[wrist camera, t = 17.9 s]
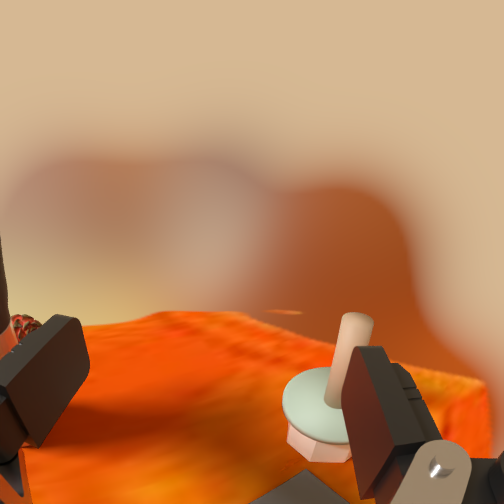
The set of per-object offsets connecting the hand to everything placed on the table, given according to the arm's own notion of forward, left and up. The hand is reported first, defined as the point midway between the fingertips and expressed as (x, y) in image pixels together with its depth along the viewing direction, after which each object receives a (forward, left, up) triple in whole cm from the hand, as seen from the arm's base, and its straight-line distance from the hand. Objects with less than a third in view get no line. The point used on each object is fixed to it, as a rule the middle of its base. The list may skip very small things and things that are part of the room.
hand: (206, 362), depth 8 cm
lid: (-9, +24, -24) cm, 35 cm away
